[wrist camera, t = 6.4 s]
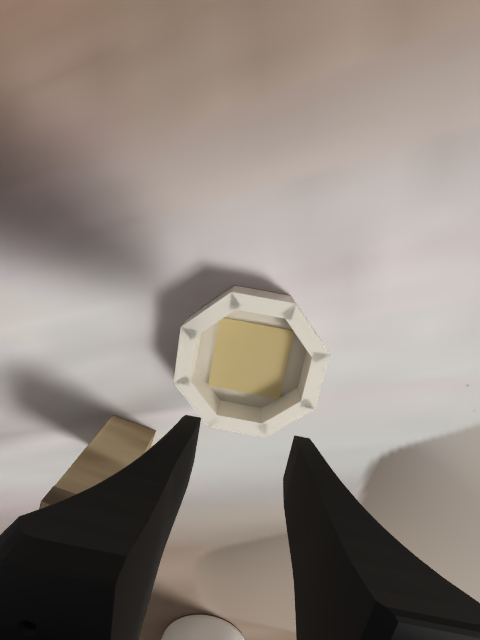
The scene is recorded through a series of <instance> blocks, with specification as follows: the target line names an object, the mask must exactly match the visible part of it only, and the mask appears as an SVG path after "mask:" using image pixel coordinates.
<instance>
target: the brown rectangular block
mask: <svg viewBox="0 0 480 640" xmlns="http://www.w3.org/2000/svg"><path fill="white" fill-rule="evenodd" d="M155 432H156V431H155V430H152V429H149V428H146V427H144V426H141V425H138V424H135V423H133V422H130V421H127V420H124V419H121V418H119V417H116V416H112V417H111V418H110V419H109V420H108V422H107V423H106V424H105V425H104V427H103V428H102V429H101V430H100V431H99V433H98V434H97V435H96V436H95V437H94V439H93V440H92V441H91V442H90V444H89V445H88V446H87V447H86V448H85V450H84V451H83V452H82V453H81V454H80V456H79V457H78V458H77V459H76V461H75V462H74V463H73V464H72V465H71V467H70V468H69V469H68V470H67V471H66V473H65V474H64V475H63V476H62V478H61V479H60V480H59V481H58V482H57V484H56V485H55V486H53V487H52V489H51V490H50V491H49V492H48V493H47V495H46V496H45V497H44V498H43V499H42V501H41V504H40V508H39V509H42V508H44V507H47V506H50V505H52V504H55V503H57V502H60V501H62V500H65V499H67V498H69V497H71V496H74V495H76V494H78V493H80V492H82V491H84V490H87V489H89V488H91V487H93V486H94V485H96V484H98V483H100V482H102V481H103V480H105V479H107V478H109V477H110V476H112V475H114V474H115V473H117V472H119V471H120V470H122V469H123V468H125V467H126V466H128V465H129V464H130V463H132V462H133V461H135V460H136V459H137V458H139V457H140V456H141V455H143V454H144V453H145V452H146V451H148V450H149V449H150V447H151V444H152V441H153V438H154V435H155Z"/></svg>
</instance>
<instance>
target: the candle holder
mask: <svg viewBox="0 0 480 640" xmlns="http://www.w3.org/2000/svg"><path fill="white" fill-rule="evenodd" d="M161 640H245V639H244V637H243V635H242V634H241V633H240V631H239V630H238V629H237V628H236V627H234V626H233V625H232V624H230V623H229V622H227V621H225V620H223V619H220V618H217V617H214V616H209V615H189V616H185V617H182V618H179V619H177V620H175V621H174V622H172V623H171V624H170V625H169V626H168V627H167V628H166V630H165V631H164V633H163V635H162V638H161Z"/></svg>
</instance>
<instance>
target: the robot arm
mask: <svg viewBox="0 0 480 640" xmlns="http://www.w3.org/2000/svg"><path fill="white" fill-rule="evenodd" d="M200 421H201V418H199V417H194V416H188V415H185V416H184V417H182V418H181V420H180V421H179V422H178V423H177V424H176V425H175V426H174V427H173V428H172V429H171V430H170V431H169V432H168V433H167V434H166V435H165V436H164V437H163V438H162V439H160V440H159V441H158V442H157V443H156V444H155V445H154V446H152V447H151V448H150V449H149V450H148V451H146V452H145V453H144V454H143V455H141V456H140V457H139V458H137V459H136V460H135V461H133V462H132V463H130V464H129V465H128V466H126V467H125V468H123V469H122V470H120V471H119V472H117V473H115V474H114V475H112V476H110V477H109V478H107V479H105V480H103V481H102V482H100V483H98V484H96V485H94V486H93V487H91V488H89V489H87V490H84V491H82V492H80V493H78V494H76V495H74V496H71V497H69V498H67V499H65V500H62V501H60V502H57V503H55V504H52V505H50V506H47V507H44V508H42V509H39V510H36V511H33V512H31V513H28V514H25V515H22V516H19V517H18V518H17V519H16V520H15V521H14V522H13V523H12V524H11V525H10V526H9V527H8V528H7V529H6V530H5V531H4V532H3V533H2V534H1V535H0V640H138V639H139V635H140V632H141V628H142V624H143V621H144V617H145V614H146V610H147V606H148V603H149V599H150V596H151V592H152V588H153V585H154V581H155V578H156V574H157V571H158V567H159V564H160V560H161V557H162V554H163V551H164V548H165V545H166V542H167V540H168V537H169V534H170V532H171V529H172V526H173V524H174V521H175V518H176V516H177V513H178V510H179V508H180V505H181V502H182V500H183V497H184V494H185V492H186V489H187V486H188V482H189V479H190V475H191V471H192V467H193V463H194V458H195V452H196V446H197V440H198V433H199V427H200ZM283 493H284V510H285V518H286V525H287V532H288V540H289V547H290V554H291V561H292V568H293V577H294V590H295V610H296V635H297V640H480V603H479V602H477V601H476V600H475V599H473V598H472V597H470V596H469V595H467V594H466V593H464V592H463V591H461V590H460V589H459V588H457V587H456V586H454V585H453V584H452V583H450V582H449V581H447V580H446V579H444V578H443V577H442V576H440V575H439V574H438V573H437V572H435V571H434V570H433V569H431V568H430V567H429V566H428V565H426V564H425V563H424V562H422V561H421V560H420V559H419V558H418V557H416V556H415V555H414V554H413V553H411V552H410V551H409V550H408V549H407V548H406V547H404V546H403V545H402V544H401V543H400V542H399V541H398V540H397V539H395V538H394V537H393V536H392V535H391V534H390V533H389V532H388V531H386V529H384V528H383V527H382V526H381V525H380V524H379V523H378V522H377V521H376V520H375V519H374V518H373V517H372V516H371V515H370V514H369V513H368V512H367V511H366V510H365V508H364V507H363V506H362V505H361V504H360V503H359V502H358V501H357V500H356V499H355V497H354V496H353V495H352V494H351V493H350V491H349V490H348V489H347V488H346V487H345V486H344V484H343V483H342V482H341V481H340V479H339V478H338V477H337V475H336V474H335V473H334V472H333V470H332V469H331V468H330V466H329V465H328V463H327V462H326V461H325V459H324V458H323V456H322V455H321V454H320V452H319V451H318V449H317V448H316V447H315V445H314V444H313V442H312V441H311V440H310V439H309V438H304V437H299V436H294V439H293V443H292V447H291V451H290V454H289V458H288V462H287V466H286V470H285V474H284V478H283Z"/></svg>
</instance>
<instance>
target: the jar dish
mask: <svg viewBox="0 0 480 640" xmlns="http://www.w3.org/2000/svg"><path fill="white" fill-rule="evenodd" d="M329 356H330V354H329V352H328V351H327V349H326V347H325V346H324V344H323V342H322V341H321V339H320V338H319V336H318V335H317V333H316V332H315V330H314V329H313V327H312V326H311V324H310V323H309V321H308V320H307V318H306V317H305V315H304V314H303V312H302V311H301V309H300V308H299V306H298V305H297V303H296V302H295V300H294V299H293V297H292V296H290V295H284V294H279V293H273V292H268V291H262V290H257V289H251V288H246V287H240V286H233V287H232V288H230V289H229V290H227V291H226V292H225V293H223V294H222V295H220V296H219V297H217V298H216V299H215V300H213V301H212V302H210V303H209V304H207V305H206V306H204V307H203V308H202V309H200V310H199V311H197V312H196V313H194V314H193V315H192V316H190V317H189V318H188V319H187V320H186V322H185V323H184V324H183V325H182V326H181V328H180V336H179V344H178V352H177V360H176V367H175V375H174V384H175V386H176V387H177V388H178V389H179V391H180V392H181V393H182V394H183V396H184V397H185V398H186V399H187V401H188V402H189V403H190V404H191V406H192V407H193V408H194V409H195V411H196V412H197V413H198V414H199V416H200V417H201V418H202V419H203V421H204V422H205V423H206V424H207V425H208V427H211V428H217V429H222V430H227V431H233V432H238V433H243V434H249V435H254V436H259V437H265V438H266V437H267V436H269V435H271V434H273V433H275V432H276V431H278V430H280V429H282V428H283V427H285V426H287V425H289V424H290V423H292V422H294V421H296V420H298V419H299V418H301V417H303V416H305V415H306V414H308V413H310V412H312V411H314V410H315V408H316V404H317V401H318V397H319V393H320V390H321V386H322V382H323V378H324V375H325V371H326V367H327V364H328V360H329Z"/></svg>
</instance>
